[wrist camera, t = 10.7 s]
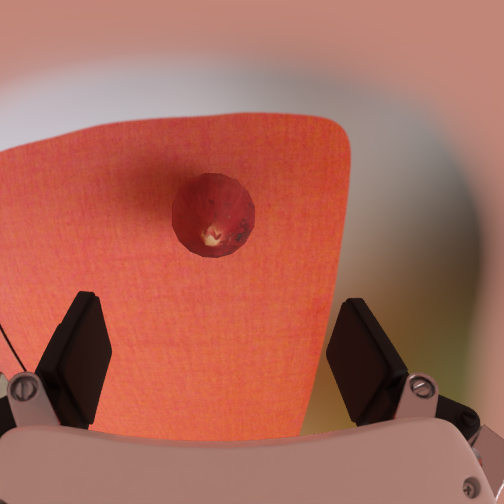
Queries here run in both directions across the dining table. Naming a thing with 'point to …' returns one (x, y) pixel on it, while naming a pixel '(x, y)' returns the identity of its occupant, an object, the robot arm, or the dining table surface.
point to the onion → (213, 215)
